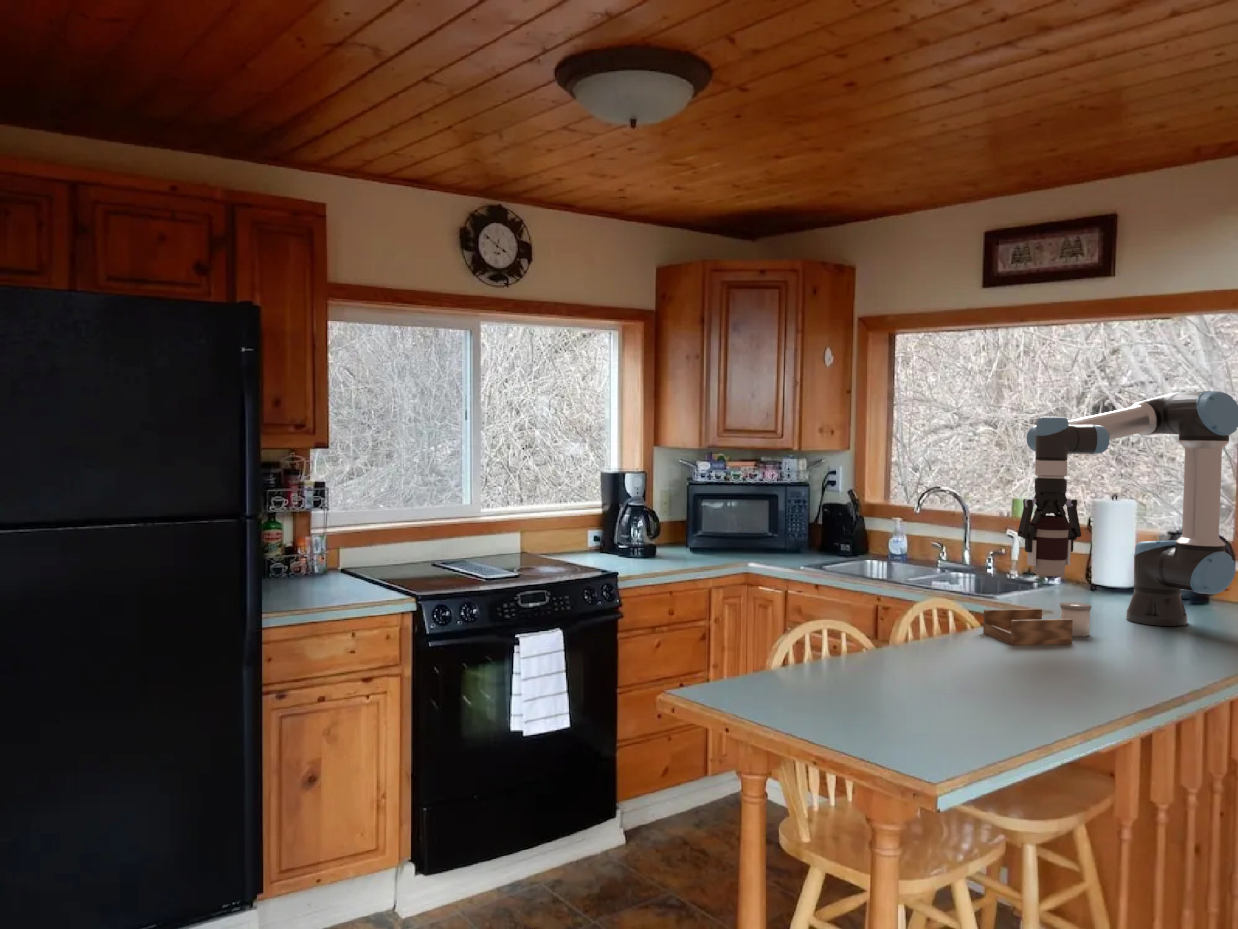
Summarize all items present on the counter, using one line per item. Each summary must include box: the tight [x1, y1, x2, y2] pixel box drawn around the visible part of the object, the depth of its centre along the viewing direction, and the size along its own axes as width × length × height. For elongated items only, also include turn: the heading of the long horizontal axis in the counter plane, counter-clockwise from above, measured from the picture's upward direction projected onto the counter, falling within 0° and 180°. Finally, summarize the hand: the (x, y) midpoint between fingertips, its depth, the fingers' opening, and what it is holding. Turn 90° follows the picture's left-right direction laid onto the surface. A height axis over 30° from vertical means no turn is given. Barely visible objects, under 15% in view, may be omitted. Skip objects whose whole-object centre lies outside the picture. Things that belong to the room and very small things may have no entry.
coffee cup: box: [1030, 514, 1071, 577], centre depth 249 cm, size 10×10×15 cm
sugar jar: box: [1059, 601, 1092, 637], centre depth 259 cm, size 8×8×8 cm
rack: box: [982, 608, 1073, 646], centre depth 253 cm, size 16×15×6 cm
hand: (1048, 565), depth 249 cm, fingers closed on coffee cup, 9 cm apart
